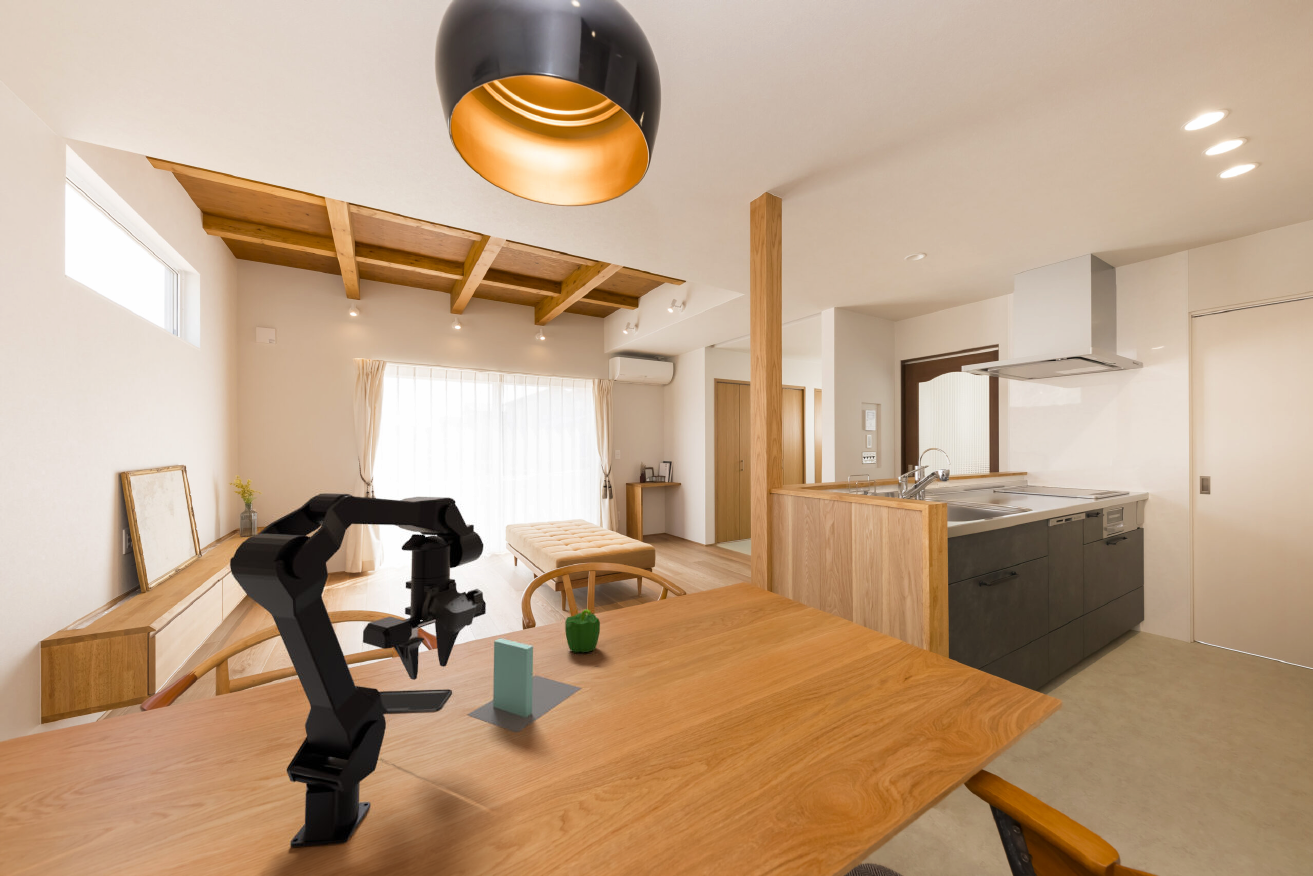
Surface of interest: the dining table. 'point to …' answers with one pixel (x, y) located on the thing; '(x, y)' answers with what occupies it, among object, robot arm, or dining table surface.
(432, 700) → the phone
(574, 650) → the bell pepper
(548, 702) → the mat
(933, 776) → the dining table surface
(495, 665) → the teal board
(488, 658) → the dining table surface
